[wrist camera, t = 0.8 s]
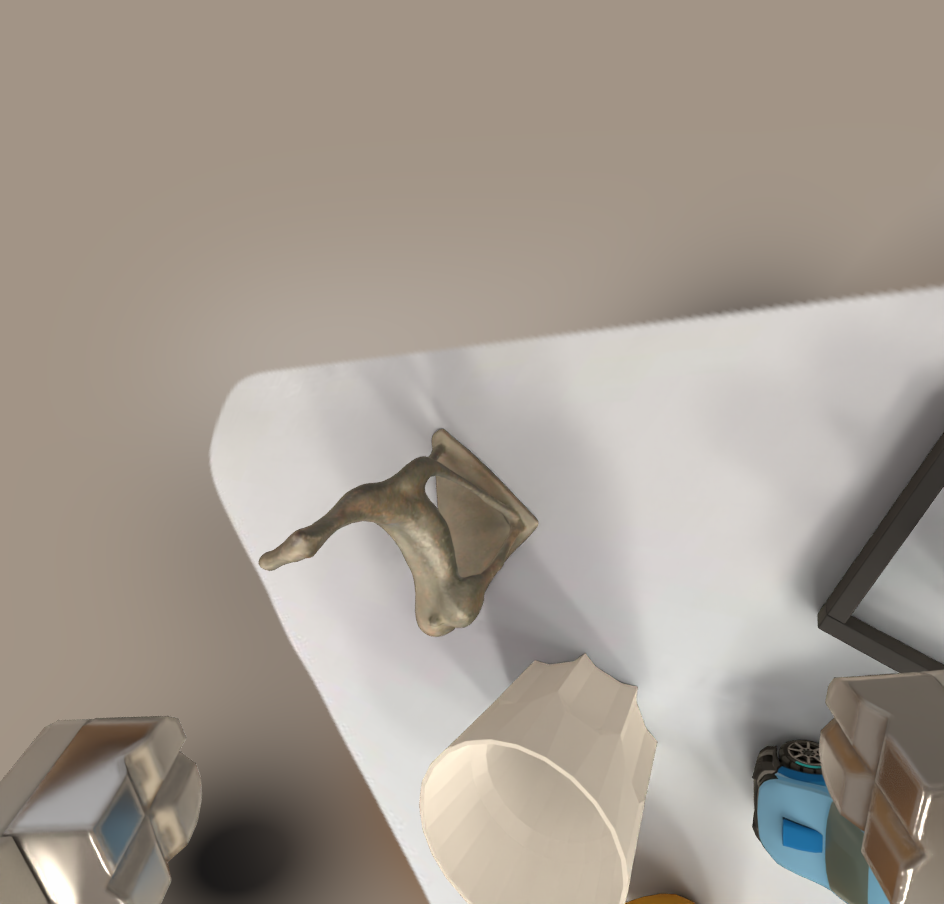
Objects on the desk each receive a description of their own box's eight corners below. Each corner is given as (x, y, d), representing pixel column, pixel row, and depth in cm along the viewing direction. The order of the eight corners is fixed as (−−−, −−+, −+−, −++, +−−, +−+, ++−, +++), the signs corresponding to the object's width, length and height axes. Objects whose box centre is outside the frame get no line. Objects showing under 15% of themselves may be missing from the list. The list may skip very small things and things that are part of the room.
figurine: (544, 615, 37) (403, 781, 24) (447, 602, 40) (274, 744, 27) (532, 428, 35) (371, 498, 22) (430, 429, 38) (236, 491, 25)
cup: (623, 831, 38) (568, 987, 29) (481, 728, 41) (394, 841, 32) (704, 709, 34) (670, 846, 25) (541, 606, 37) (461, 696, 28)
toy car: (754, 723, 33) (746, 797, 28) (1062, 781, 27) (1119, 885, 22) (755, 825, 34) (746, 913, 29) (1051, 900, 28) (1104, 1025, 23)
